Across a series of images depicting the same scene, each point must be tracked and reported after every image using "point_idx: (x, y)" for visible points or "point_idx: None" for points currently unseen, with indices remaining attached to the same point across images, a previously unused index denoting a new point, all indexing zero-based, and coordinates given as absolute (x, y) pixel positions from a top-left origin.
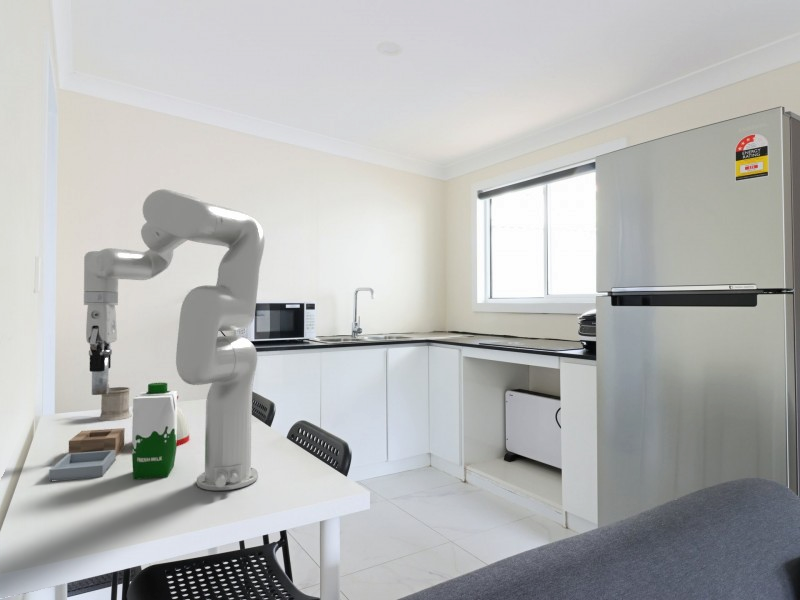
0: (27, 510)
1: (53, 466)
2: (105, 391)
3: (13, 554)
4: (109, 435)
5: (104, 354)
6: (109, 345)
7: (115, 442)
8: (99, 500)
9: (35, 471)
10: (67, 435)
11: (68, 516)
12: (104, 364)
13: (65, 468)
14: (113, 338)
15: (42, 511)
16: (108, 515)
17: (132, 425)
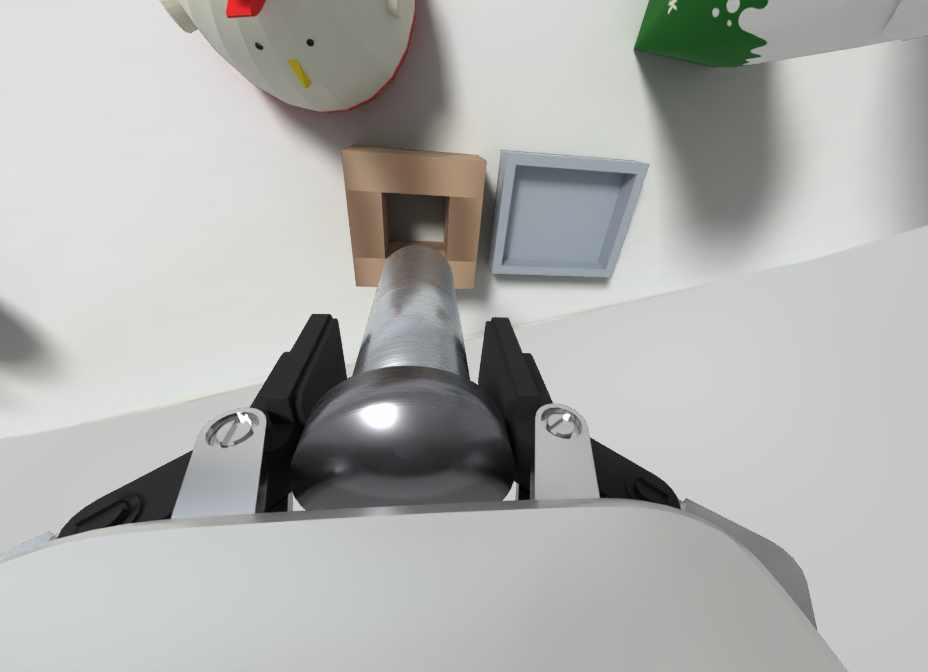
0: (740, 258)
1: (589, 276)
2: (440, 257)
3: (908, 224)
4: (446, 188)
5: (498, 407)
6: (228, 497)
7: (483, 159)
8: (795, 136)
9: (513, 310)
10: (196, 333)
11: (830, 181)
12: (513, 340)
13: (620, 248)
14: (354, 585)
15: (765, 233)
16: (899, 99)
17: (836, 50)
